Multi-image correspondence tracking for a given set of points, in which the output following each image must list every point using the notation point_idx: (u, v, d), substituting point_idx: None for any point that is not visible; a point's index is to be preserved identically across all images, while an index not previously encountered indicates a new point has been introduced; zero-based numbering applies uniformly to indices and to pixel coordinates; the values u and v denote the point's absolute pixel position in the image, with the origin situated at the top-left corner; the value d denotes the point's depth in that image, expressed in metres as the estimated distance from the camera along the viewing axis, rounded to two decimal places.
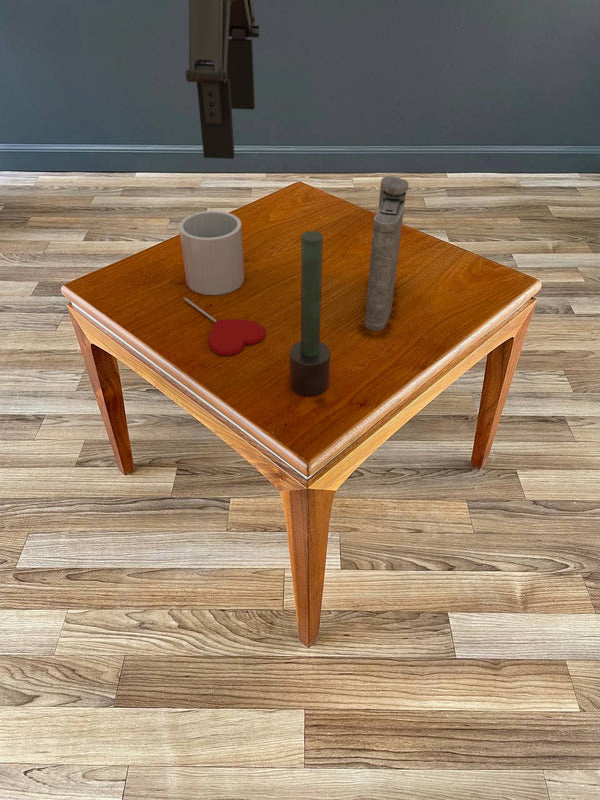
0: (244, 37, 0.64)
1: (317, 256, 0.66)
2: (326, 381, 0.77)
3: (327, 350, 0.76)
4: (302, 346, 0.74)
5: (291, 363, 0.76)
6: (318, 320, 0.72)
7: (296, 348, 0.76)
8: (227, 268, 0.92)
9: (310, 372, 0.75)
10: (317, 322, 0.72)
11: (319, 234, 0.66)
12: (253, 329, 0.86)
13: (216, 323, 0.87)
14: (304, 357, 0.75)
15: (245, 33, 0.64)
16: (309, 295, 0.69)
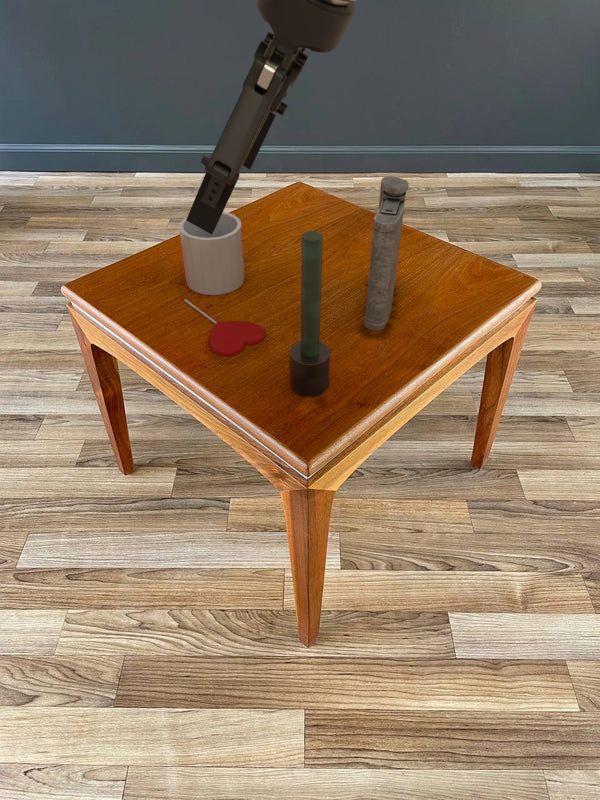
0: None
1: (317, 256, 0.66)
2: (326, 381, 0.77)
3: (327, 350, 0.76)
4: (302, 346, 0.74)
5: (291, 363, 0.76)
6: (318, 320, 0.72)
7: (296, 348, 0.76)
8: (227, 268, 0.92)
9: (310, 372, 0.75)
10: (317, 322, 0.72)
11: (319, 234, 0.66)
12: (253, 331, 0.86)
13: (216, 325, 0.87)
14: (304, 357, 0.75)
15: None
16: (309, 295, 0.69)
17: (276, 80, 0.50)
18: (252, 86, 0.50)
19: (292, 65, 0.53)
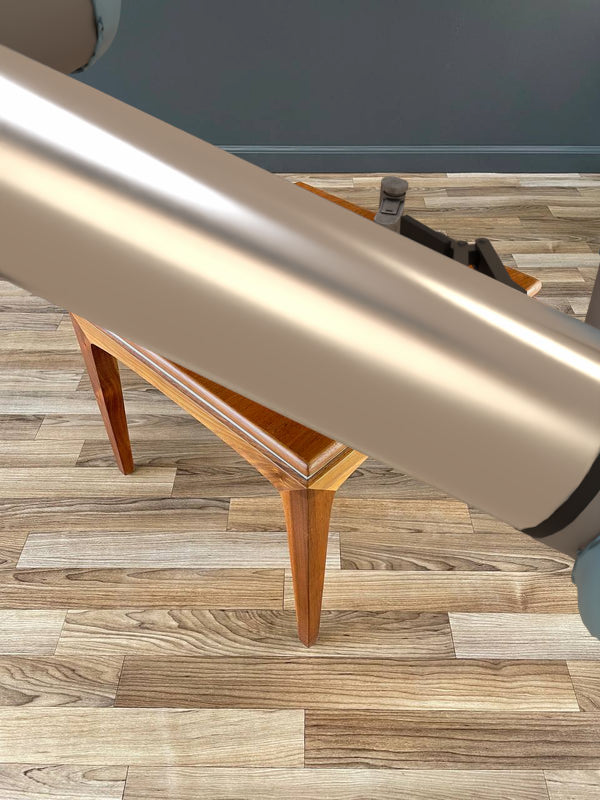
0: None
1: None
2: None
3: None
4: None
5: None
6: None
7: None
8: None
9: None
10: None
11: None
12: None
13: None
14: None
15: None
16: None
17: None
18: None
19: None
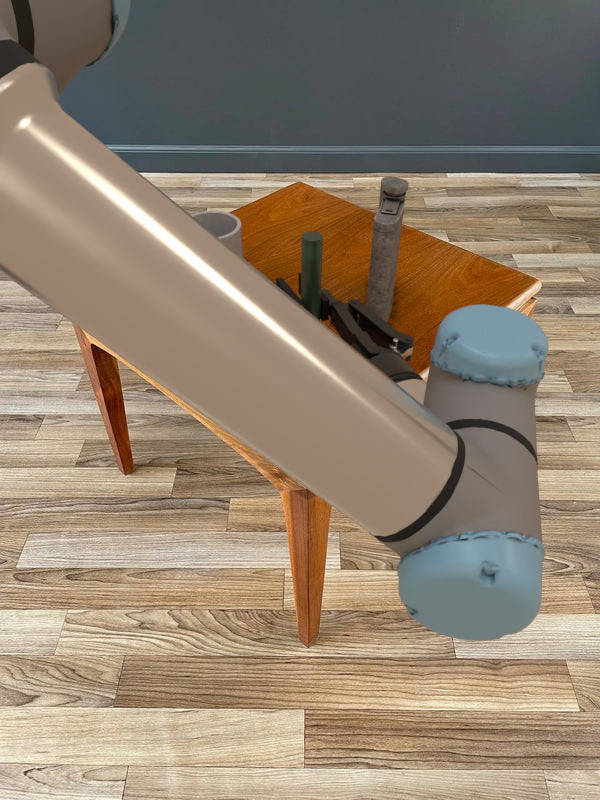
0: None
1: (317, 256, 0.66)
2: None
3: None
4: None
5: None
6: None
7: None
8: None
9: None
10: None
11: (319, 234, 0.66)
12: None
13: None
14: None
15: (332, 319, 0.71)
16: (309, 295, 0.69)
17: None
18: None
19: None
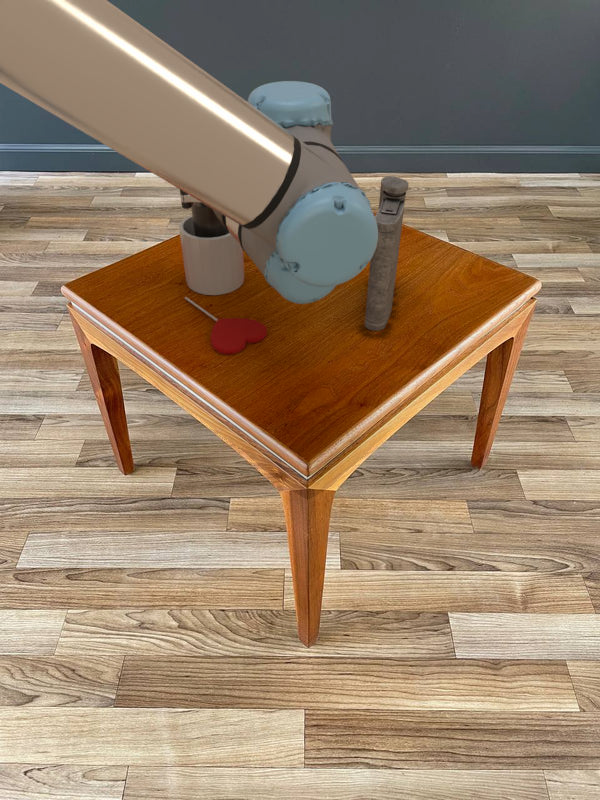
0: None
1: None
2: (223, 227, 0.90)
3: None
4: None
5: (192, 209, 0.88)
6: None
7: None
8: (227, 268, 0.92)
9: (207, 215, 0.88)
10: None
11: None
12: (255, 328, 0.86)
13: (217, 322, 0.87)
14: (202, 203, 0.88)
15: None
16: None
17: None
18: None
19: None
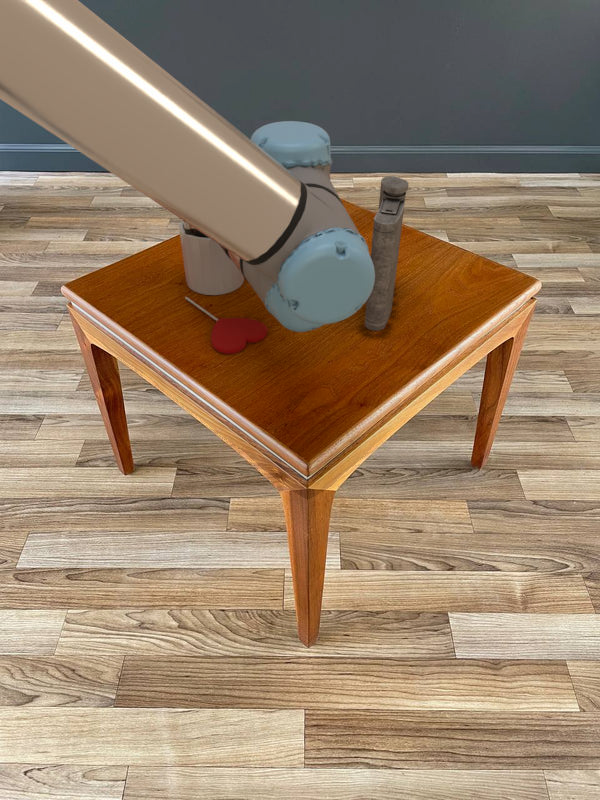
0: None
1: None
2: None
3: None
4: None
5: None
6: None
7: None
8: (227, 268, 0.92)
9: None
10: None
11: None
12: (255, 328, 0.86)
13: (218, 322, 0.87)
14: None
15: None
16: None
17: None
18: None
19: None
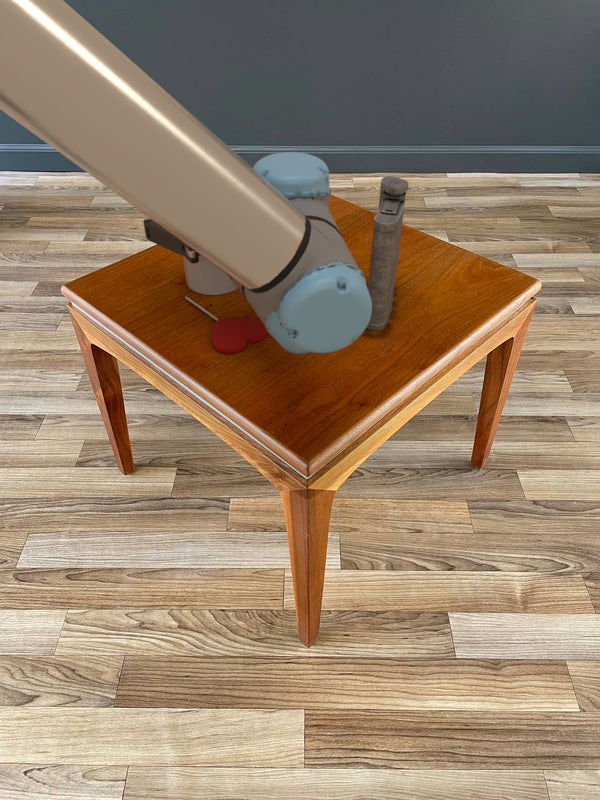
0: None
1: None
2: None
3: None
4: None
5: None
6: None
7: None
8: None
9: None
10: None
11: None
12: (255, 327, 0.86)
13: (218, 321, 0.87)
14: None
15: None
16: None
17: (188, 258, 0.79)
18: (182, 243, 0.79)
19: None
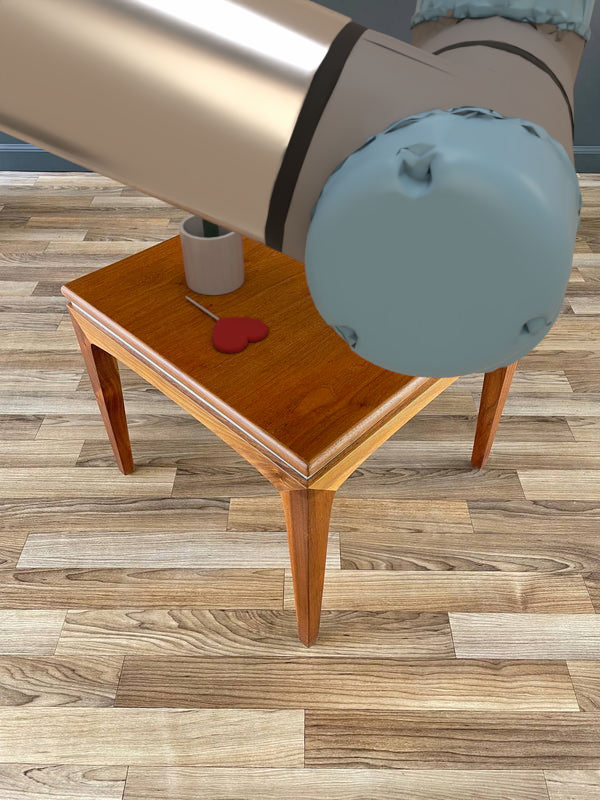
0: None
1: None
2: None
3: None
4: None
5: None
6: None
7: None
8: (227, 268, 0.92)
9: None
10: None
11: None
12: (256, 327, 0.86)
13: (219, 321, 0.87)
14: None
15: None
16: None
17: None
18: None
19: None
